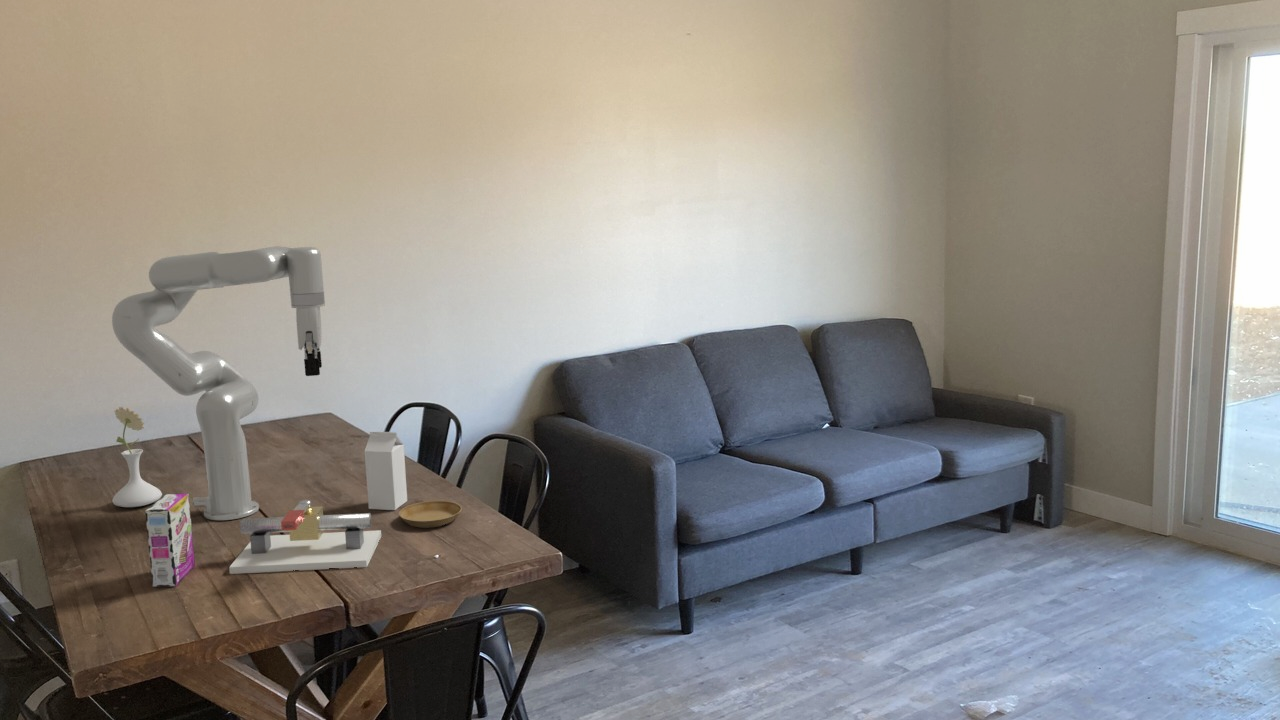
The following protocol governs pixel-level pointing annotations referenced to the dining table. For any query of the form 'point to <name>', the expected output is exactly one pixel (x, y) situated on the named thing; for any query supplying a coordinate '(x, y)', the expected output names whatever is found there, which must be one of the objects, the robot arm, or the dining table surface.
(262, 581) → the dining table surface
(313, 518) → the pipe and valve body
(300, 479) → the dining table surface
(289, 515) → the valve lever
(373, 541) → the valve board
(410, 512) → the plant saucer
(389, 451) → the milk carton
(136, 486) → the flower in vase
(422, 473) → the dining table surface
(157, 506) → the candy bar box
